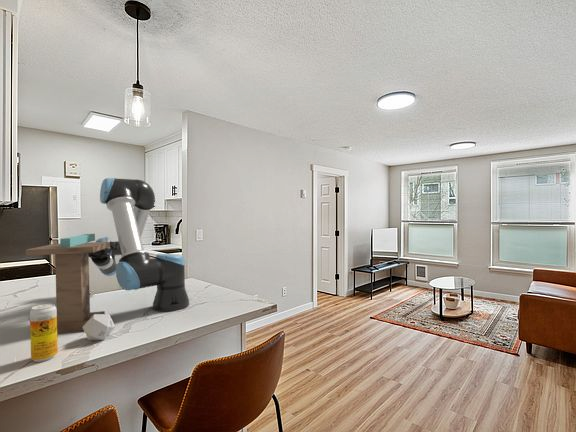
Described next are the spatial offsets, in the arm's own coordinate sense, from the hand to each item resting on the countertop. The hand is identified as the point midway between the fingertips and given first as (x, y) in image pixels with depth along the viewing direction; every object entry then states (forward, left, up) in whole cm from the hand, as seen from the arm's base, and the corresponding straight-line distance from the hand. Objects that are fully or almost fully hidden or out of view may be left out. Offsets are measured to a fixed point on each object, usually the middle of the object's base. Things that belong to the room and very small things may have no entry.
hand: (87, 240), depth 133 cm
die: (-29, +23, -31) cm, 48 cm away
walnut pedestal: (-9, +15, -30) cm, 35 cm away
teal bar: (-6, +9, 0) cm, 11 cm away
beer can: (-25, +38, -31) cm, 55 cm away
